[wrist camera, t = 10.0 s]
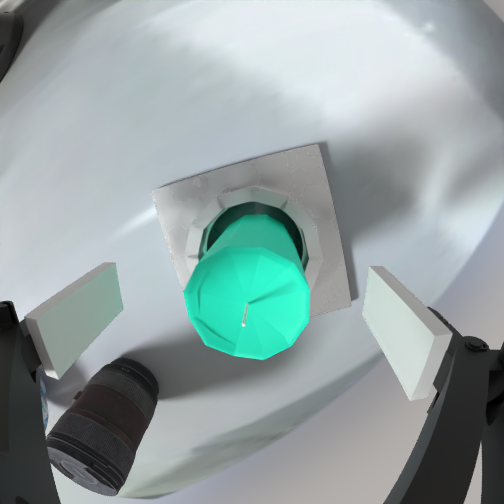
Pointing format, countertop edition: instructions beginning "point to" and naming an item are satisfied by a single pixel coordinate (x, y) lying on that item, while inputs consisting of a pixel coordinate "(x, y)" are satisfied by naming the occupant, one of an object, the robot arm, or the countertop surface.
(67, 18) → the countertop surface
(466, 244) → the countertop surface
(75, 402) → the camera lens
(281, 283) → the candle
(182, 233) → the duct flange
